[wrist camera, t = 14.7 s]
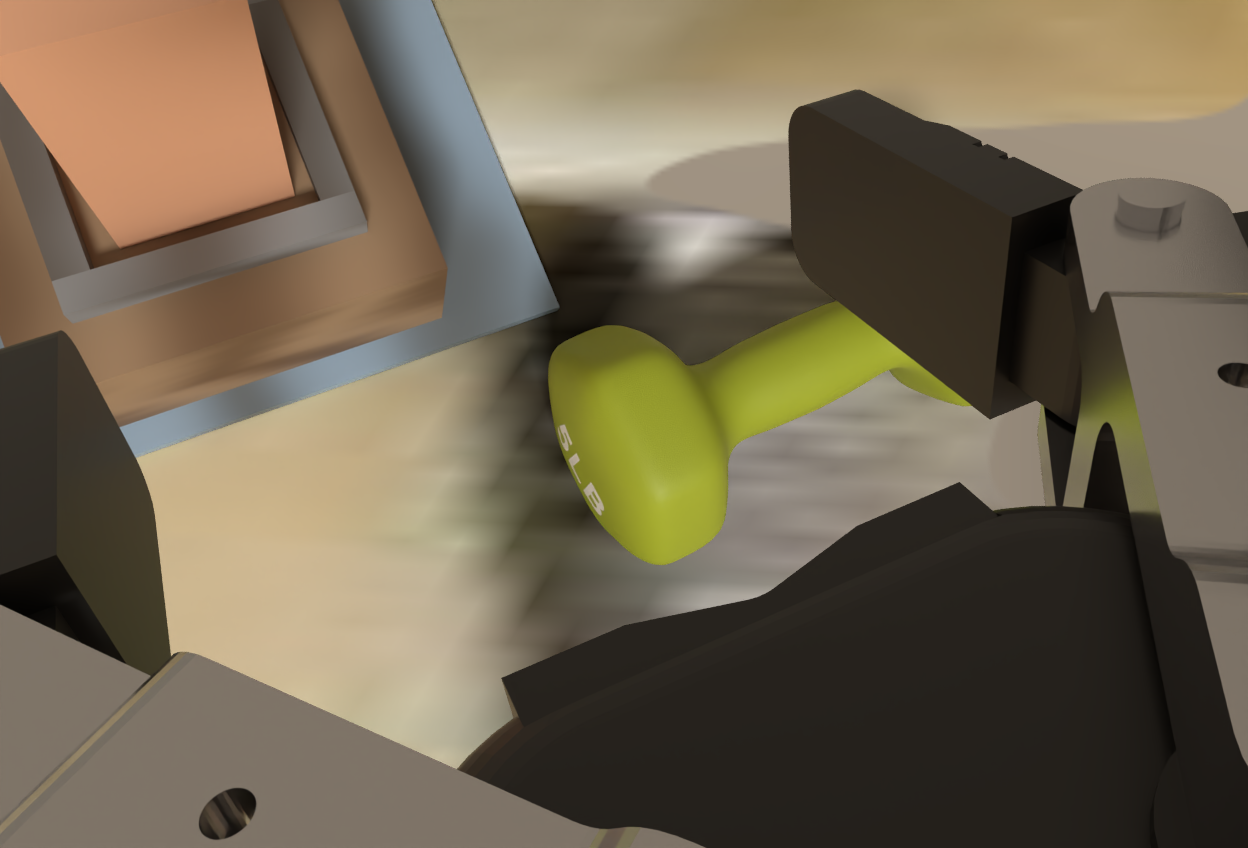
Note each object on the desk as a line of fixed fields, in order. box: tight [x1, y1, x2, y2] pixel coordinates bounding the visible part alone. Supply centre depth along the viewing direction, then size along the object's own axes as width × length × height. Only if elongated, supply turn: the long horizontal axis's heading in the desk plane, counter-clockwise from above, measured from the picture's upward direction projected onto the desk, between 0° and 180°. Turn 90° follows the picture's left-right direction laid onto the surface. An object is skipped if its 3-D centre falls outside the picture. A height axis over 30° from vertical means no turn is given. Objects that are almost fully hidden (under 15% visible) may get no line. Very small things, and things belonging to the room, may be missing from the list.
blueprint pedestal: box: [0, 0, 559, 458], centre depth 33 cm, size 20×14×6 cm
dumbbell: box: [548, 301, 972, 565], centre depth 35 cm, size 16×8×7 cm, turn 116°
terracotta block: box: [0, 0, 295, 249], centre depth 26 cm, size 5×5×10 cm
